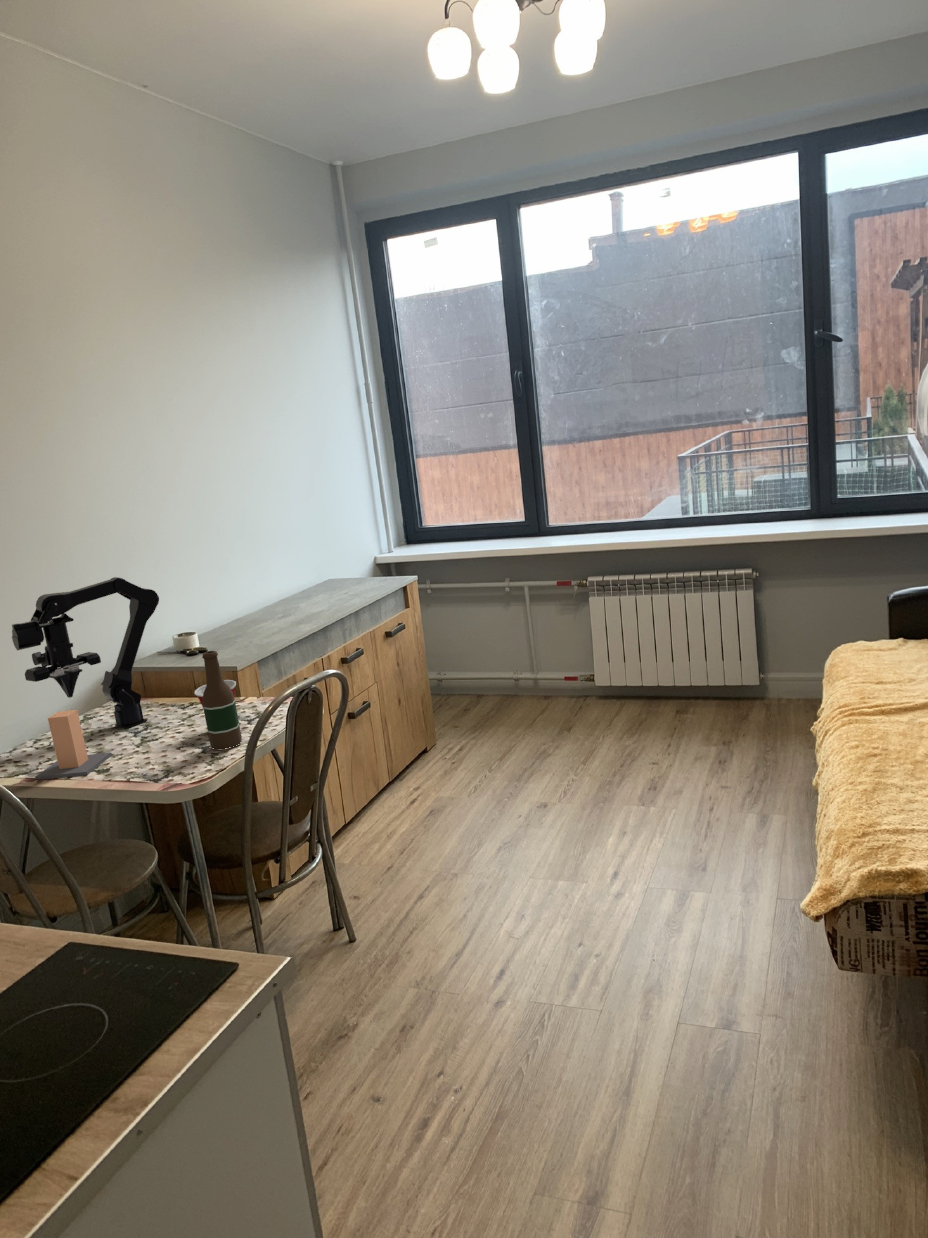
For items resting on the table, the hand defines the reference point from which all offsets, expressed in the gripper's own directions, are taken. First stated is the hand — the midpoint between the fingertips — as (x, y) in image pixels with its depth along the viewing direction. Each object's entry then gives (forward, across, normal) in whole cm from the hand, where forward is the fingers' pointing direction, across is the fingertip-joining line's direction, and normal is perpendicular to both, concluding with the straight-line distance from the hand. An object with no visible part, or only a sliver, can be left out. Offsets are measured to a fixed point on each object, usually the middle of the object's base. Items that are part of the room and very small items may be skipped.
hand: (70, 697), depth 250 cm
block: (+11, +13, +21) cm, 28 cm away
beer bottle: (+12, -12, +49) cm, 52 cm away
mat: (+12, +13, +22) cm, 28 cm away
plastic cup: (+12, -20, +37) cm, 44 cm away
